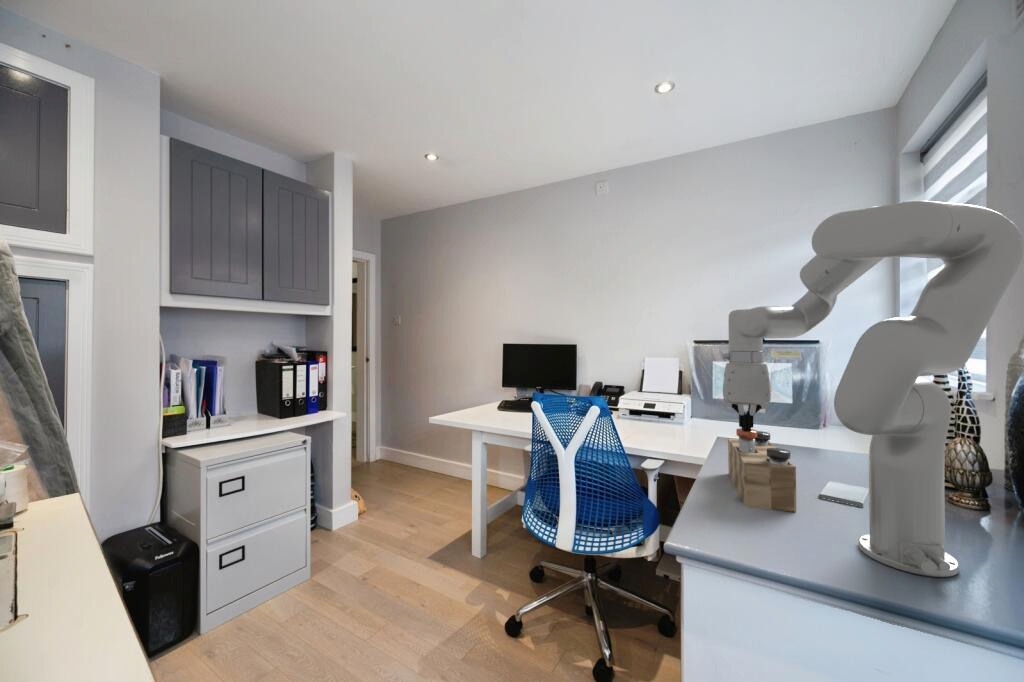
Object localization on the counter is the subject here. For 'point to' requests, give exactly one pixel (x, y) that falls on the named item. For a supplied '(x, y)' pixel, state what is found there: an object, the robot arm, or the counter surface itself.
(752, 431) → the plug mid
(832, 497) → the hard drive
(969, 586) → the counter surface
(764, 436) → the plug far
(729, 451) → the socket block
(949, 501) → the counter surface
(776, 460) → the plug near
